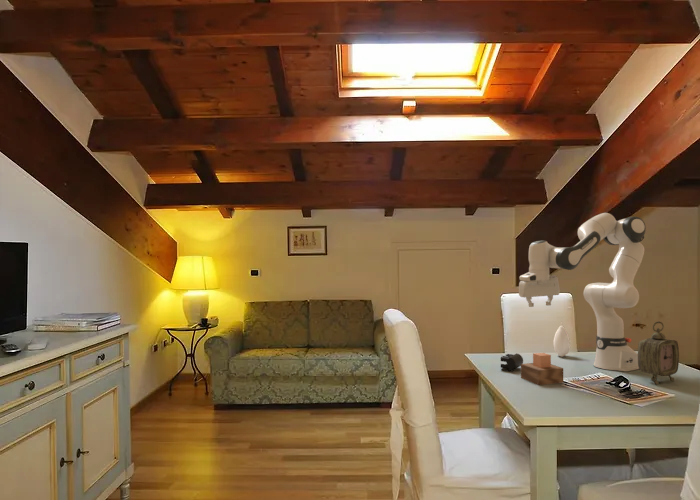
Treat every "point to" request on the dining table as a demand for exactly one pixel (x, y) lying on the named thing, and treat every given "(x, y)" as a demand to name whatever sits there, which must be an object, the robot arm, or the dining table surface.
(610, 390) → the dining table surface
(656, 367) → the tabletop clock
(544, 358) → the terracotta block
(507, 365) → the end cap
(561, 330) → the white teardrop ornament
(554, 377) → the walnut block
